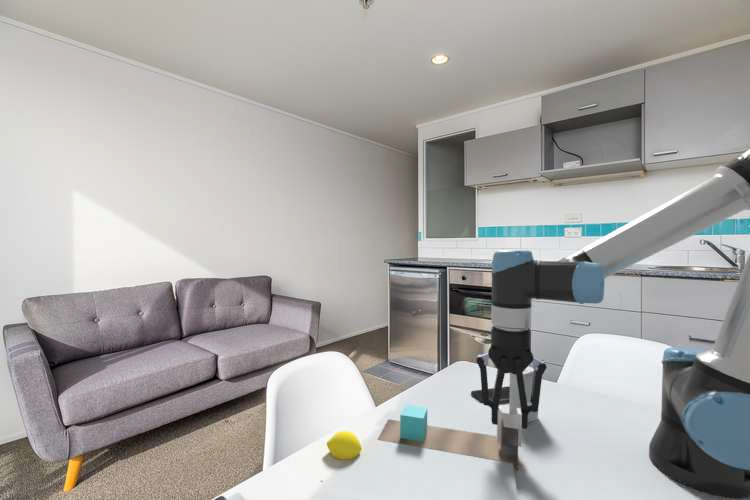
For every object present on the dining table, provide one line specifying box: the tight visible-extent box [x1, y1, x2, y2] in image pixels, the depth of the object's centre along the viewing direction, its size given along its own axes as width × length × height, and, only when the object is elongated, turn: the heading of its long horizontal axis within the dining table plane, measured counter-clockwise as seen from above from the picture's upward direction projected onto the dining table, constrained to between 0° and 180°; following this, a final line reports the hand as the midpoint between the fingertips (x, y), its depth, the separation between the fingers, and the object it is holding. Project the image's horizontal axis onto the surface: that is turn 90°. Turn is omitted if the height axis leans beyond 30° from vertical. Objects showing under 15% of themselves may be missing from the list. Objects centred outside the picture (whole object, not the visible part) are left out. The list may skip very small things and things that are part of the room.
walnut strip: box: [377, 412, 519, 471], centre depth 77 cm, size 28×9×7 cm, turn 73°
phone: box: [470, 385, 510, 405], centre depth 101 cm, size 8×1×15 cm
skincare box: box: [508, 365, 539, 423], centre depth 89 cm, size 6×4×12 cm
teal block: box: [399, 404, 428, 442], centre depth 79 cm, size 5×5×5 cm
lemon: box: [326, 430, 362, 461], centre depth 72 cm, size 7×5×5 cm
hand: (508, 441), depth 73 cm, fingers closed on walnut strip, 3 cm apart
